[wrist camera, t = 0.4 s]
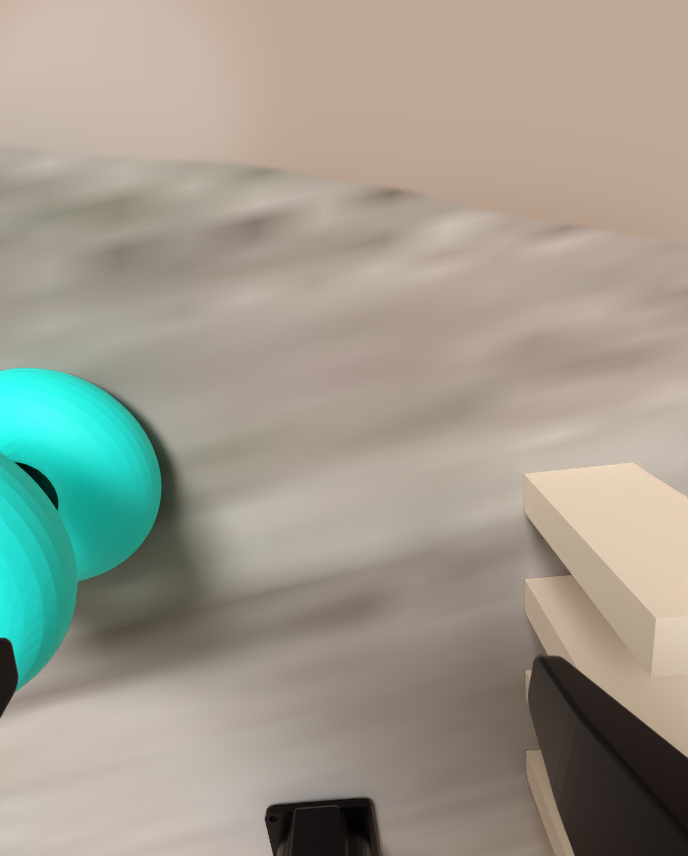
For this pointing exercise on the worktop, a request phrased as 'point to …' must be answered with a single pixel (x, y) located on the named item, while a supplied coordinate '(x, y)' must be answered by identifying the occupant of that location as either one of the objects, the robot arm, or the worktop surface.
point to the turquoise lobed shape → (65, 502)
